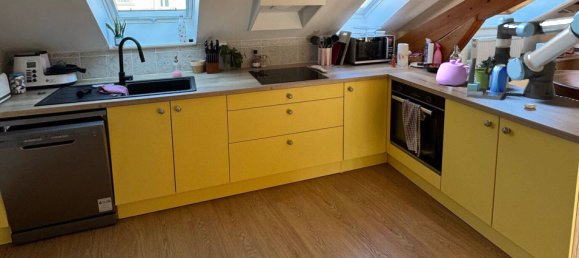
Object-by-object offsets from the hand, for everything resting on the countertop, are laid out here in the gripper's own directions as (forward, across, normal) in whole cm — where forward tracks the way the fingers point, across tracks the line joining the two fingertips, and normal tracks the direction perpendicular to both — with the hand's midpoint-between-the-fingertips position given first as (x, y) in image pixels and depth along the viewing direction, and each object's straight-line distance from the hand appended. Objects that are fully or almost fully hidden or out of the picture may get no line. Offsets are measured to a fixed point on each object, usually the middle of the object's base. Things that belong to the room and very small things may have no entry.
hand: (498, 87), depth 241 cm
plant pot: (+4, +10, -11) cm, 15 cm away
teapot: (+4, +30, -17) cm, 35 cm away
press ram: (+2, +11, +10) cm, 15 cm away
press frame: (+4, +5, +10) cm, 11 cm away
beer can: (+4, 0, 0) cm, 4 cm away
